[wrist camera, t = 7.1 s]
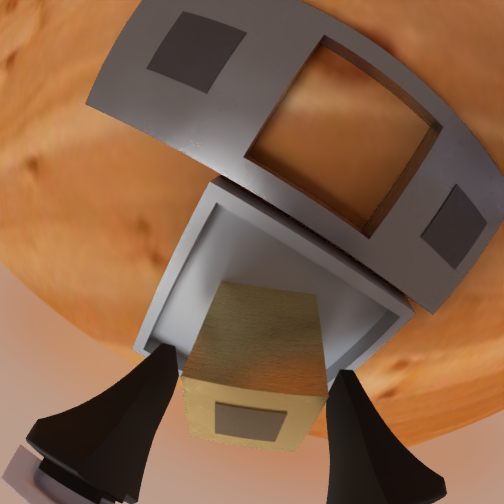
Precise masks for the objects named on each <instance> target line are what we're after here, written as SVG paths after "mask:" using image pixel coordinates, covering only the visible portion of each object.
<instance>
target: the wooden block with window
mask: <svg viewBox="0 0 504 504" xmlns="http://www.w3.org/2000/svg"><path fill="white" fill-rule="evenodd" d="M181 381H182V388H183V394H184V401H185V408H186V414H187V420H188V425H189V431H190V436H191V437H195V438H199V439H204V440H208V441H213V442H218V443H223V444H229V445H235V446H241V447H249V448H256V449H265V450H276V451H288V452H296V451H297V449H298V448H299V446H300V445H301V443H302V441H303V440H304V438H305V437H306V435H307V434H308V432H309V430H310V429H311V427H312V426H313V424H314V422H315V420H316V419H317V417H318V415H319V414H320V412H321V410H322V408H323V407H324V405H325V403H326V401H327V399H328V397H329V395H328V384H327V375H326V365H325V356H324V348H323V340H322V332H321V325H320V318H319V311H318V304H317V297H316V294H309V293H301V292H294V291H287V290H279V289H272V288H265V287H258V286H252V285H245V284H239V283H232V282H226V281H221V282H220V284H219V286H218V289H217V291H216V293H215V296H214V298H213V300H212V303H211V305H210V307H209V310H208V312H207V314H206V317H205V319H204V322H203V324H202V326H201V329H200V331H199V333H198V336H197V338H196V341H195V343H194V345H193V348H192V350H191V353H190V355H189V357H188V360H187V362H186V365H185V367H184V370H183V372H182V374H181Z"/></svg>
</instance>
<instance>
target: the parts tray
mask: <svg viewBox="0 0 504 504" xmlns="http://www.w3.org/2000/svg"><path fill="white" fill-rule="evenodd" d="M221 281H226V282H232V283H239V284H245V285H252V286H258V287H265V288H272V289H279V290H287V291H294V292H301V293H309V294H316V297H317V304H318V311H319V318H320V325H321V332H322V340H323V348H324V356H325V365H326V375H327V384H328V391H329V390H330V388H331V386H332V384H333V382H334V380H335V378H336V376H337V374H338V372H339V370H340V369H347V370H353V371H355V370H356V369H357V368H359V367H360V366H361V365H362V364H363V363H364V362H366V361H367V360H368V359H369V358H370V357H371V356H372V355H373V354H375V353H376V352H377V351H378V350H379V349H380V348H381V347H382V346H383V345H384V344H385V343H386V342H387V341H389V340H390V339H391V338H392V337H393V336H394V335H395V334H396V333H397V332H398V331H399V330H400V329H401V328H402V327H403V326H404V325H405V324H406V323H407V322H408V321H409V320H410V318H411V317H412V316H413V315H414V314H415V312H414V310H413V308H412V306H411V305H410V303H409V301H408V300H407V298H406V297H405V296H404V295H403V294H401V293H400V292H398V291H397V290H396V289H394V288H393V287H391V286H390V285H389V284H387V283H386V282H384V281H383V280H382V279H380V278H379V277H377V276H376V275H375V274H373V273H372V272H370V271H369V270H367V269H366V268H364V267H363V266H362V265H360V264H359V263H357V262H356V261H354V260H353V259H351V258H350V257H348V256H347V255H345V254H344V253H342V252H341V251H339V250H338V249H336V248H335V247H333V246H332V245H330V244H329V243H327V242H326V241H324V240H323V239H321V238H320V237H318V236H317V235H315V234H314V233H312V232H311V231H309V230H307V229H306V228H304V227H303V226H301V225H300V224H298V223H296V222H295V221H293V220H292V219H290V218H288V217H287V216H285V215H284V214H282V213H280V212H279V211H277V210H276V209H274V208H272V207H271V206H269V205H267V204H266V203H264V202H262V201H261V200H259V199H258V198H256V197H254V196H253V195H251V194H249V193H247V192H246V191H244V190H242V189H241V188H239V187H237V186H236V185H234V184H232V183H230V182H229V181H227V180H225V179H224V178H222V177H220V176H218V177H217V178H215V179H213V180H212V181H210V182H209V184H208V186H207V188H206V190H205V192H204V194H203V195H202V197H201V199H200V201H199V203H198V205H197V207H196V209H195V211H194V213H193V215H192V217H191V219H190V221H189V223H188V225H187V227H186V229H185V231H184V233H183V235H182V237H181V239H180V241H179V243H178V245H177V247H176V249H175V251H174V253H173V256H172V258H171V260H170V262H169V264H168V266H167V268H166V271H165V273H164V275H163V277H162V279H161V282H160V284H159V286H158V288H157V291H156V293H155V295H154V298H153V300H152V302H151V305H150V307H149V309H148V312H147V314H146V317H145V319H144V322H143V324H142V326H141V329H140V331H139V334H138V336H137V339H136V342H135V344H134V347H133V350H134V351H136V352H138V353H139V354H141V355H143V356H144V357H146V358H147V357H148V356H149V355H150V354H151V353H152V352H153V351H154V350H155V349H156V348H157V347H158V346H159V345H160V344H162V343H165V344H169V345H173V346H175V348H176V356H177V363H178V371H179V376H181V374H182V372H183V370H184V367H185V365H186V362H187V360H188V357H189V355H190V353H191V350H192V348H193V345H194V343H195V341H196V338H197V336H198V333H199V331H200V329H201V326H202V324H203V322H204V319H205V317H206V314H207V312H208V310H209V307H210V305H211V303H212V300H213V298H214V296H215V293H216V291H217V289H218V286H219V284H220V282H221Z"/></svg>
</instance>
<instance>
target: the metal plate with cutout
mask: <svg viewBox="0 0 504 504" xmlns="http://www.w3.org/2000/svg"><path fill="white" fill-rule="evenodd" d="M320 44H322V45H323V46H325V47H327V48H328V49H330V50H332V51H334V52H335V53H337V54H338V55H340V56H342V57H343V58H345V59H346V60H348V61H349V62H351V63H353V64H354V65H356V66H357V67H358V68H360V69H361V70H363V71H364V72H366V73H367V74H368V75H370V76H371V77H373V78H374V79H375V80H377V81H378V82H379V83H381V84H382V85H383V86H385V87H386V88H387V89H388V90H390V91H391V92H392V93H393V94H395V95H396V96H397V97H398V98H399V99H401V100H402V101H403V102H404V103H405V104H406V105H408V106H409V107H410V108H411V109H412V110H413V111H414V112H415V113H417V114H418V115H419V116H420V117H421V118H422V119H423V120H424V121H425V122H426V123H427V124H428V125H429V126H430V129H429V131H428V132H427V134H426V136H425V137H424V139H423V141H422V142H421V144H420V145H419V147H418V149H417V150H416V152H415V153H414V155H413V157H412V158H411V160H410V161H409V163H408V164H407V166H406V167H405V169H404V170H403V172H402V174H401V175H400V177H399V178H398V180H397V181H396V182H395V184H394V185H393V187H392V188H391V190H390V191H389V193H388V194H387V196H386V197H385V199H384V200H383V201H382V203H381V204H380V206H379V207H378V208H377V210H376V211H375V213H374V214H373V215H372V217H371V218H370V219H369V221H368V222H367V224H366V225H365V226H364V228H363V229H360V228H359V227H358V226H356V225H355V224H353V223H352V222H351V221H349V220H348V219H346V218H345V217H344V216H342V215H341V214H339V213H338V212H336V211H335V210H333V209H332V208H331V207H329V206H328V205H326V204H325V203H323V202H322V201H320V200H319V199H317V198H316V197H314V196H313V195H311V194H310V193H308V192H307V191H305V190H304V189H302V188H301V187H299V186H297V185H296V184H294V183H293V182H291V181H290V180H288V179H286V178H285V177H283V176H282V175H280V174H278V173H277V172H275V171H273V170H272V169H270V168H268V167H267V166H265V165H263V164H262V163H260V162H258V161H257V160H255V159H253V158H252V157H250V156H248V153H249V152H250V150H251V148H252V147H253V145H254V143H255V142H256V140H257V138H258V137H259V135H260V134H261V132H262V130H263V129H264V127H265V126H266V124H267V122H268V121H269V119H270V118H271V116H272V115H273V113H274V111H275V110H276V108H277V107H278V105H279V104H280V102H281V101H282V99H283V98H284V96H285V95H286V93H287V92H288V90H289V89H290V87H291V86H292V84H293V83H294V81H295V80H296V78H297V77H298V75H299V74H300V72H301V71H302V69H303V68H304V66H305V65H306V64H307V62H308V61H309V59H310V58H311V56H312V55H313V54H314V52H315V51H316V49H317V48H318V47H319V45H320ZM85 104H86V105H88V106H90V107H92V108H95V109H97V110H99V111H101V112H103V113H105V114H107V115H110V116H112V117H114V118H116V119H118V120H120V121H122V122H124V123H126V124H128V125H130V126H132V127H134V128H136V129H138V130H140V131H142V132H144V133H146V134H148V135H150V136H152V137H154V138H156V139H158V140H160V141H162V142H163V143H165V144H167V145H169V146H171V147H173V148H175V149H177V150H179V151H180V152H182V153H184V154H186V155H188V156H190V157H191V158H193V159H195V160H197V161H199V162H200V163H202V164H204V165H206V166H208V167H209V168H211V169H213V170H215V171H217V172H218V173H220V174H222V175H224V176H225V177H227V178H229V179H230V180H232V181H234V182H236V183H237V184H239V185H241V186H242V187H244V188H246V189H248V190H249V191H251V192H253V193H254V194H256V195H258V196H259V197H261V198H263V199H264V200H266V201H267V202H269V203H271V204H272V205H274V206H276V207H277V208H279V209H280V210H282V211H284V212H285V213H287V214H289V215H290V216H292V217H293V218H295V219H296V220H298V221H300V222H301V223H303V224H304V225H306V226H307V227H309V228H311V229H312V230H314V231H315V232H317V233H318V234H320V235H321V236H323V237H324V238H326V239H327V240H329V241H330V242H332V243H333V244H335V245H336V246H338V247H339V248H341V249H342V250H344V251H345V252H347V253H348V254H350V255H351V256H353V257H354V258H356V259H357V260H358V261H360V262H361V263H363V264H364V265H366V266H367V267H369V268H370V269H371V270H373V271H374V272H376V273H377V274H378V275H380V276H381V277H383V278H384V279H385V280H387V281H388V282H390V283H391V284H392V285H394V286H395V287H397V288H398V289H399V290H401V291H402V292H403V293H405V294H406V295H407V296H409V297H410V298H411V299H413V300H414V301H415V302H417V303H418V304H419V305H421V306H422V307H423V308H425V309H426V310H427V311H429V312H430V313H431V314H432V315H433V314H434V313H435V312H436V310H437V309H438V308H439V307H440V306H441V305H442V304H443V303H444V301H445V300H446V299H447V298H448V297H449V296H450V294H451V293H452V292H453V291H454V290H455V288H456V287H457V286H458V285H459V283H460V282H461V281H462V280H463V278H464V277H465V276H466V274H467V273H468V272H469V270H470V269H471V268H472V266H473V265H474V264H475V262H476V261H477V259H478V258H479V257H480V255H481V254H482V252H483V251H484V249H485V248H486V246H487V245H488V243H489V242H490V240H491V239H492V237H493V236H494V234H495V232H496V231H497V229H498V227H499V226H500V224H501V222H502V221H503V219H504V176H503V175H502V173H501V172H500V170H499V169H498V167H497V166H496V164H495V163H494V161H493V160H492V159H491V157H490V156H489V154H488V153H487V152H486V150H485V149H484V148H483V146H482V145H481V144H480V142H479V141H478V140H477V138H476V137H475V136H474V135H473V133H472V132H471V131H470V130H469V129H468V127H467V126H466V125H465V124H464V123H463V122H462V120H461V119H460V118H459V117H458V116H457V115H456V114H455V113H454V111H453V110H452V109H451V108H450V107H449V106H448V105H447V104H446V103H445V102H444V101H443V100H442V99H441V98H440V97H439V96H438V95H437V94H436V93H435V92H434V91H433V90H432V89H431V88H430V87H429V86H428V85H427V84H425V83H424V82H423V81H422V80H421V79H420V78H419V77H418V76H416V75H415V74H414V73H413V72H412V71H411V70H409V69H408V68H407V67H406V66H405V65H403V64H402V63H401V62H400V61H398V60H397V59H396V58H395V57H393V56H392V55H391V54H389V53H388V52H387V51H385V50H384V49H383V48H381V47H380V46H378V45H377V44H375V43H374V42H373V41H371V40H370V39H368V38H367V37H365V36H364V35H362V34H360V33H359V32H357V31H356V30H354V29H352V28H351V27H349V26H348V25H346V24H344V23H342V22H341V21H339V20H337V19H335V18H334V17H332V16H330V15H328V14H326V13H324V12H322V11H320V10H318V9H316V8H314V7H312V6H310V5H308V4H306V3H304V2H302V1H299V0H142V1H141V3H140V4H139V5H138V7H137V8H136V10H135V11H134V13H133V14H132V16H131V17H130V19H129V20H128V22H127V23H126V25H125V26H124V28H123V30H122V31H121V33H120V35H119V36H118V38H117V40H116V41H115V43H114V45H113V47H112V49H111V50H110V52H109V54H108V56H107V58H106V60H105V62H104V64H103V66H102V68H101V70H100V72H99V74H98V76H97V78H96V80H95V82H94V85H93V87H92V89H91V91H90V94H89V96H88V98H87V101H86V103H85Z"/></svg>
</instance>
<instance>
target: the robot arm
mask: <svg viewBox="0 0 504 504" xmlns="http://www.w3.org/2000/svg"><path fill="white" fill-rule="evenodd" d="M178 377H179V371H178V363H177V356H176V348H175V346H173V345H169V344H165V343H162V344H160V345H159V346H158V347H157V348H156V349H155V350H154V351H153V352H152V353H151V354H150V355H149V356H148V357H147V358H146V359H144V360H143V361H142V362H141V363H140V364H139V365H138V366H137V367H135V368H134V369H133V370H132V371H131V372H130V373H129V374H127V375H126V376H125V377H124V378H122V379H121V380H120V381H118V382H117V383H116V384H114V385H113V386H111V387H110V388H109V389H107V390H106V391H104V392H102V393H101V394H99V395H98V396H96V397H94V398H92V399H90V400H89V401H87V402H85V403H83V404H81V405H79V406H77V407H74V408H72V409H69V410H67V411H65V412H62V413H59V414H56V415H53V416H49V417H46V418H42V419H38V420H37V422H36V423H35V424H34V426H33V428H32V429H31V431H30V432H29V434H28V436H27V437H26V441H27V442H28V443H29V444H30V445H31V446H32V447H33V448H34V449H35V450H37V452H39V453H40V454H41V455H42V456H43V457H44V459H43V460H42V461H41V460H40V459H39V458H38V457H36V456H35V455H34V454H32V453H31V452H29V451H28V450H27V449H26V448H24V447H23V446H22V445H20V446H19V448H18V449H17V451H16V453H15V454H14V456H13V458H12V459H11V461H10V463H9V465H8V466H7V468H6V470H5V472H4V474H3V476H2V480H3V481H4V482H5V483H6V484H7V485H8V486H10V487H11V488H12V489H13V490H14V491H15V492H16V493H17V494H19V495H20V496H21V497H22V498H23V499H24V500H25V501H26V502H27V503H29V504H115V501H117V502H119V503H123V501H124V502H127V503H129V504H134V503H136V502H138V497H139V491H140V487H141V482H142V477H143V473H144V469H145V465H146V462H147V458H148V454H149V451H150V448H151V445H152V441H153V438H154V435H155V433H156V430H157V428H158V426H159V424H160V422H161V419H162V417H163V415H164V413H165V411H166V408H167V406H168V404H169V402H170V400H171V398H172V395H173V393H174V390H175V387H176V383H177V380H178ZM328 395H329V397H328V399H327V401H326V419H327V430H328V440H329V451H330V474H329V487H328V496H327V503H326V504H432V503H434V502H435V501H438V500H440V499H441V498H443V497H444V496H446V494H447V491H446V486H445V481H444V478H443V477H441V476H440V475H438V474H436V473H435V472H434V471H432V470H431V469H429V468H428V467H426V466H425V465H424V464H423V463H422V462H421V461H419V460H418V459H417V458H416V457H415V456H414V455H413V454H412V453H410V451H409V450H407V449H406V448H405V447H404V446H403V444H402V443H401V442H400V441H399V440H398V439H397V438H396V436H395V435H394V434H393V433H392V432H391V430H390V429H389V428H388V426H387V425H386V424H385V422H384V421H383V419H382V418H381V417H380V415H379V413H378V412H377V410H376V409H375V407H374V406H373V404H372V402H371V401H370V399H369V397H368V396H367V394H366V392H365V391H364V389H363V387H362V385H361V383H360V382H359V380H358V378H357V376H356V374H355V373H354V371H353V370H347V369H340V370H339V372H338V374H337V376H336V378H335V380H334V382H333V384H332V386H331V388H330V390H329V392H328Z"/></svg>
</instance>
